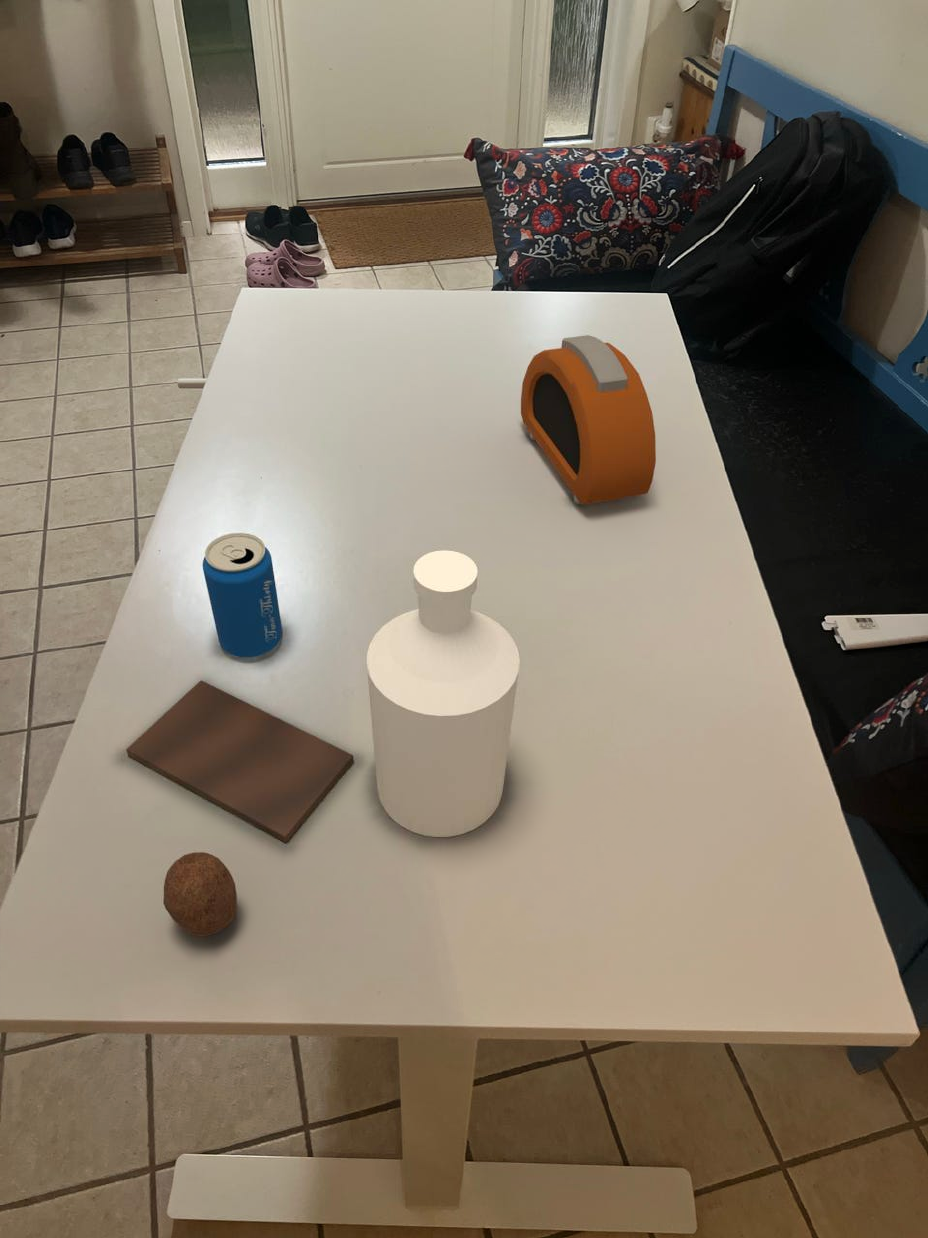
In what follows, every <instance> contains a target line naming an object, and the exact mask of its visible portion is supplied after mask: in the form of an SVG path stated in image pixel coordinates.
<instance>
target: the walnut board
mask: <svg viewBox="0 0 928 1238" xmlns="http://www.w3.org/2000/svg"><path fill="white" fill-rule="evenodd" d="M125 751H126V753H127V756H128V758H131V759H133V760H135V761H136V762H138V763H140V764H142V765H144V766H146V767H147V768H149V769H151V770H153V771H155V772H157V773H158V774H160V775H162V776H164V777H166V778H167V779H169V780H171V781H173V782H174V783H177V784H178V785H180V786H182V787H184V788H185V789H187V790H189V791H191V792H193V793H194V794H196V795H198V796H200V797H202V798H203V799H206V800H207V801H209V802H211V803H212V804H214V805H216V806H218V807H220V808H222V809H224V810H226V811H227V812H229V813H231V814H233V815H234V816H236V817H238V818H240V819H241V820H244V821H245V822H247V823H249V824H251V825H253V826H254V827H256V828H258V829H259V830H262V831H263V832H265V833H267V834H268V835H270V836H273V837H274V838H276V839H278V840H280V841H281V842H282V843H285V844H287V843H288V842H289V841H290V840H291V838H292V837H293V836H294V834H296V832H297V831H298V830H299V829H300V828H301V826H302V825H303V824H304V823H305V822H306V820H307V819H308V818H309V816H310V815H311V814H312V813H313V812H314V811H315V810H316V809H317V807H318V806H319V804H320V803H321V802H322V801H323V800H324V798H325V797H326V796H327V795H328V794H329V792H330V791H331V790H332V789H333V787H334V786H335V785H336V784H337V783H338V782H339V780H340V779H341V778H342V776H343V775H344V774H345V773H346V772H347V770H348V769H349V768H350V767H351V766H352V765H353V763H354V762H355V761H354V760H355V759H354V755H353V754H351V753H349V752H347V751H345V750H343V749H342V748H339V747H337V746H335V745H333V744H331V743H329V742H327V741H325V740H323V739H321V738H319V737H317V736H315V735H313V734H312V733H309V732H307V731H305V730H303V729H300V728H299V727H297V726H295V725H293V724H291V723H289V722H287V721H284V720H283V719H280V718H278V717H277V716H274V715H273V714H270V713H269V712H267V711H264V710H262V709H260V708H258V707H256V706H255V705H252V704H250V703H248V702H247V701H244V700H243V699H240V698H238V697H236V696H234V695H232V694H230V693H229V692H225V691H224V690H222V689H220V688H218V687H215V686H214V685H212V684H210V683H207V682H206V681H204V680H199V681H198V682H197V683H196V684H195V685H194V686H193V687H192V688H191V689H189V690H188V692H186V693H185V694H184V695H183V696H182V697H181V698H180V699H179V700H177V702H176V703H174V705H172V707H170V708H169V709H168V710H167V711H166V712H165V713H164V714H163V715H162V716H161V717H159V718H158V719H157V720H156V721H155V722H154V723H153V724H152V725H151V726H150V727H149V728H147V730H146V731H144V732H143V733H142V734H141V735H140V736H139V737H138V738H136V740H135V741H133V743H131V744H130V745H129V746H128V747H127V748H126V750H125Z"/></svg>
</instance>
